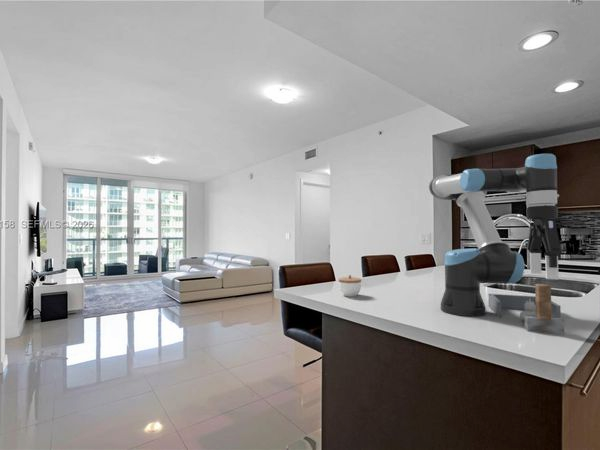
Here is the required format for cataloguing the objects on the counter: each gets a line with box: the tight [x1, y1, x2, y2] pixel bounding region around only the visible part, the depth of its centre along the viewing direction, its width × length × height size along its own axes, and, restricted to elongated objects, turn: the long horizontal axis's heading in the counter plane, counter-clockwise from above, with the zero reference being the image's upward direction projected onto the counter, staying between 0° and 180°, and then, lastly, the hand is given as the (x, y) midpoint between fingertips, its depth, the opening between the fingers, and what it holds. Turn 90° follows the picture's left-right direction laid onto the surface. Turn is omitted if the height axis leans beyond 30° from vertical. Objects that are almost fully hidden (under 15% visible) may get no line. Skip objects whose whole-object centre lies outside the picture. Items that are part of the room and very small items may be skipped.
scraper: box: [523, 283, 565, 335], centre depth 96 cm, size 9×3×14 cm, turn 69°
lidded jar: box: [338, 274, 362, 298], centre depth 150 cm, size 11×11×9 cm
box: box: [488, 293, 562, 319], centre depth 117 cm, size 18×15×5 cm
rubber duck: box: [519, 299, 536, 321], centre depth 105 cm, size 5×7×8 cm
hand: (543, 276), depth 96 cm, fingers open, 13 cm apart
